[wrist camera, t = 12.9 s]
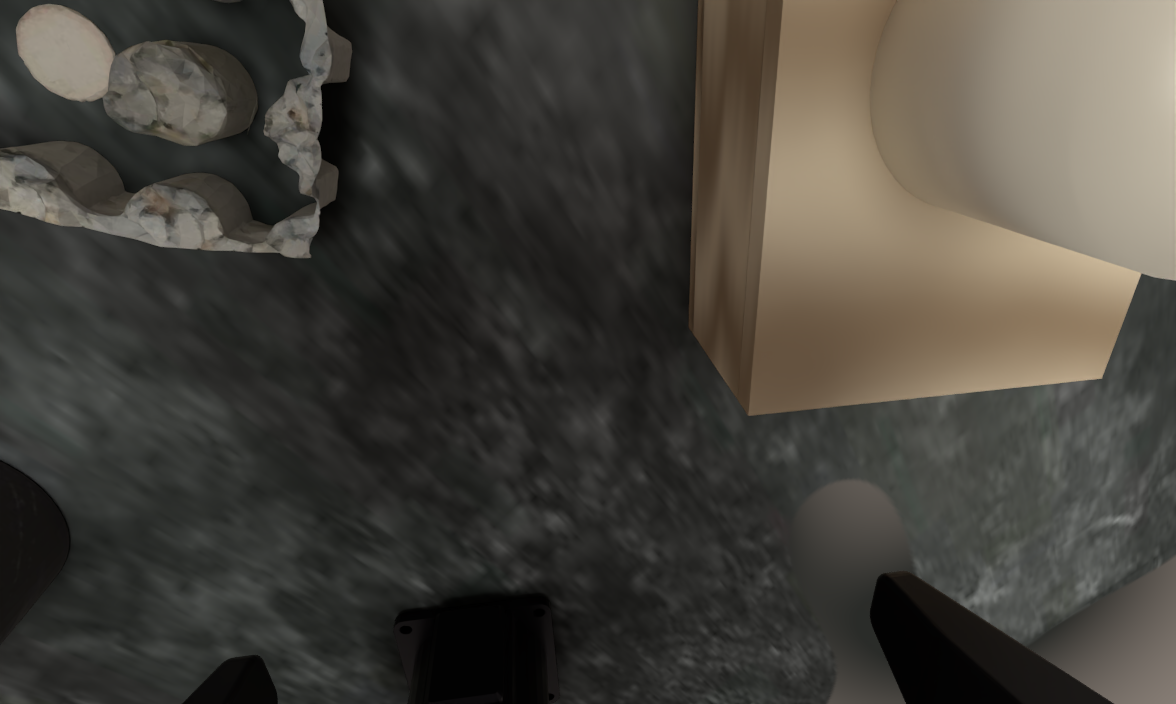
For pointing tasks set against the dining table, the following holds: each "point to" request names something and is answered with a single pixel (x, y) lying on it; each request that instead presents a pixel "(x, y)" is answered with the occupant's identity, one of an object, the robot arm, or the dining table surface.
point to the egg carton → (171, 134)
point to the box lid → (889, 252)
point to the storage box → (724, 174)
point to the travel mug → (26, 545)
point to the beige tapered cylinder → (1038, 119)
